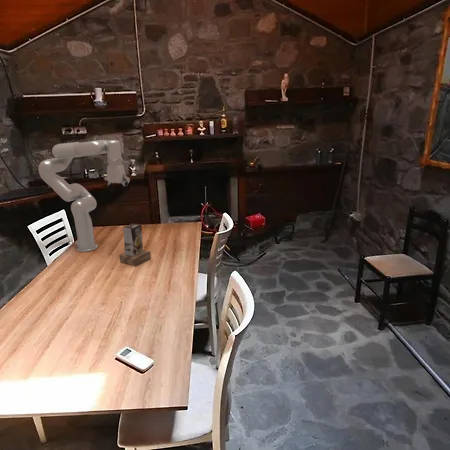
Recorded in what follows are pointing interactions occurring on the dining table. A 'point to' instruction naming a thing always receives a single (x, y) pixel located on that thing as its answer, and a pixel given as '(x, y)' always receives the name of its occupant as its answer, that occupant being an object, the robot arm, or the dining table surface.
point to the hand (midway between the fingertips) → (118, 192)
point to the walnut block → (135, 258)
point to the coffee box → (133, 239)
